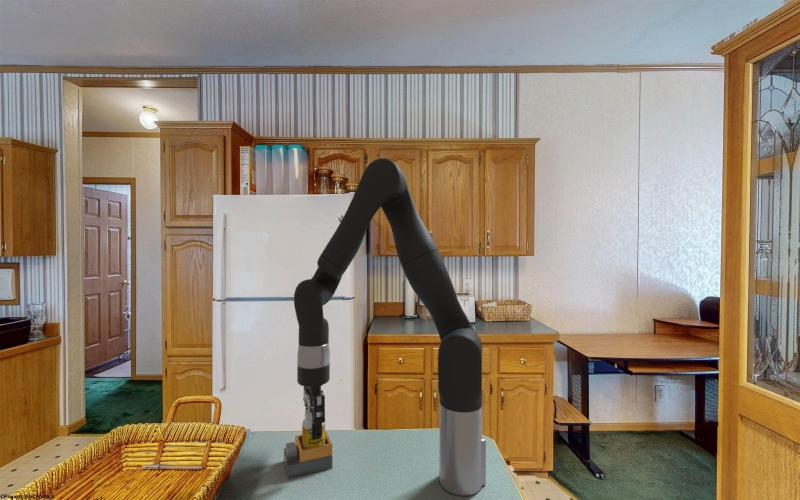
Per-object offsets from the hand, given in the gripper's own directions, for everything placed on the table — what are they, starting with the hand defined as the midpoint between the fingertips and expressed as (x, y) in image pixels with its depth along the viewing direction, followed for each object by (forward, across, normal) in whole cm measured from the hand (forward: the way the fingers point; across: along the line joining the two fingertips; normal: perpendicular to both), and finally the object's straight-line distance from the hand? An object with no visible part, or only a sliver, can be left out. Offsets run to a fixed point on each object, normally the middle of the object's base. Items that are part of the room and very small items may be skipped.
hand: (313, 430), depth 85 cm
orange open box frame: (+8, 0, +1) cm, 8 cm away
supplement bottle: (+5, 0, 0) cm, 5 cm away
